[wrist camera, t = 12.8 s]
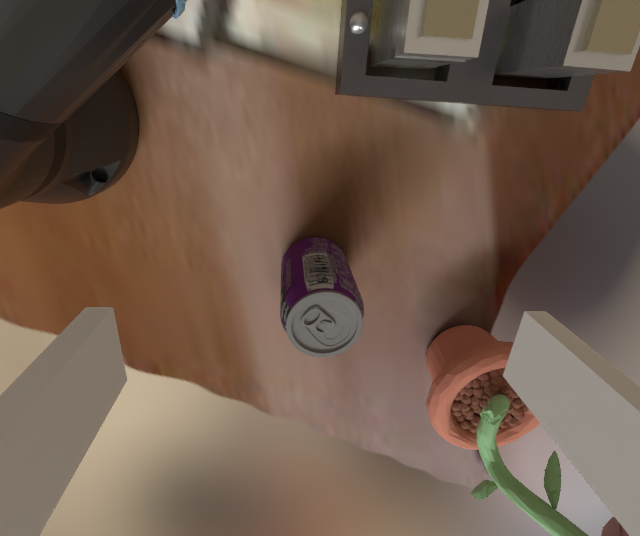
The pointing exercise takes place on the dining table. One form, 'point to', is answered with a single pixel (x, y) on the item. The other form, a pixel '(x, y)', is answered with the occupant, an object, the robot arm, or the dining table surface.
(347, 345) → the beverage can
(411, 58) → the block
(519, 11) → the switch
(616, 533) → the decorative flower
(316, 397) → the dining table surface
